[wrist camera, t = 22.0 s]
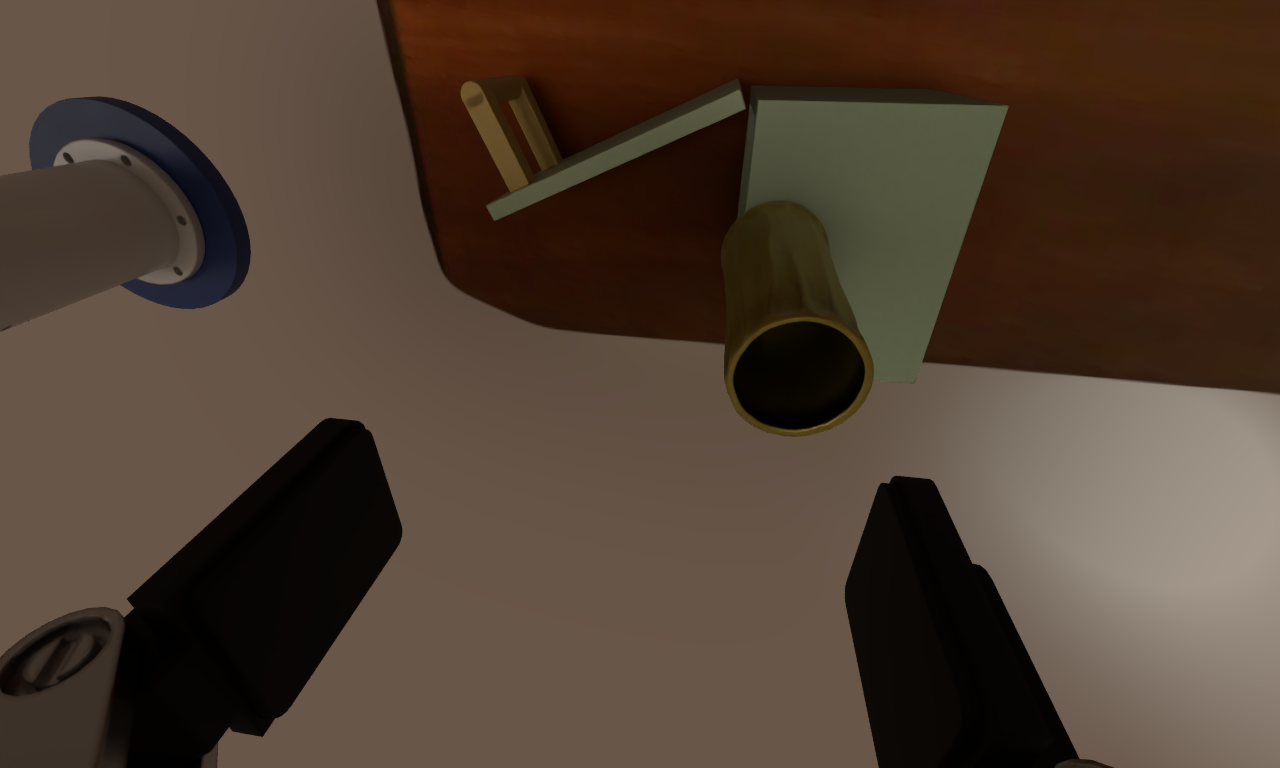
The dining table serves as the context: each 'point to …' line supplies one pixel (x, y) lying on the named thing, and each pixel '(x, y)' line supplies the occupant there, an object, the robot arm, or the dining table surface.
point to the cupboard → (877, 195)
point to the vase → (789, 325)
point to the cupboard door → (586, 163)
